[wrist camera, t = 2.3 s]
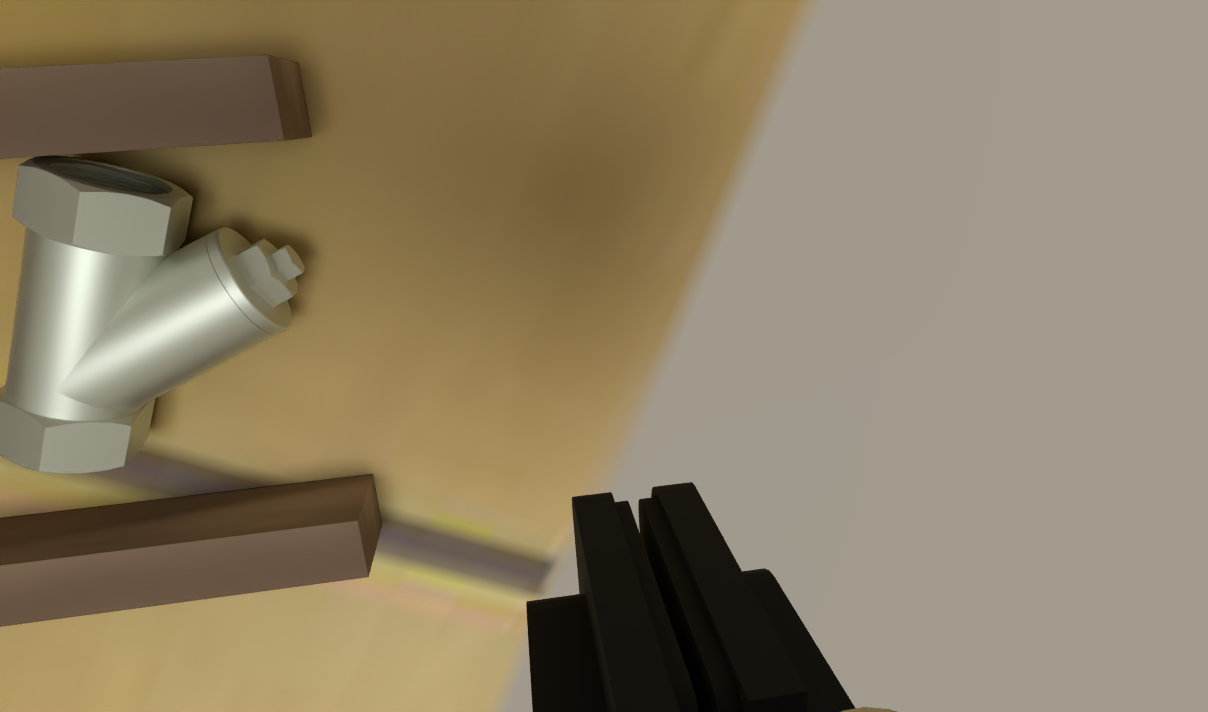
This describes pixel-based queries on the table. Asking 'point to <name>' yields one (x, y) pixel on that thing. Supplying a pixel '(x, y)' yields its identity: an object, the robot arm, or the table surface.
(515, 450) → the table surface
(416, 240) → the table surface
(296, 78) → the bench jig
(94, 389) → the pipe fitting
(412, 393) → the table surface
